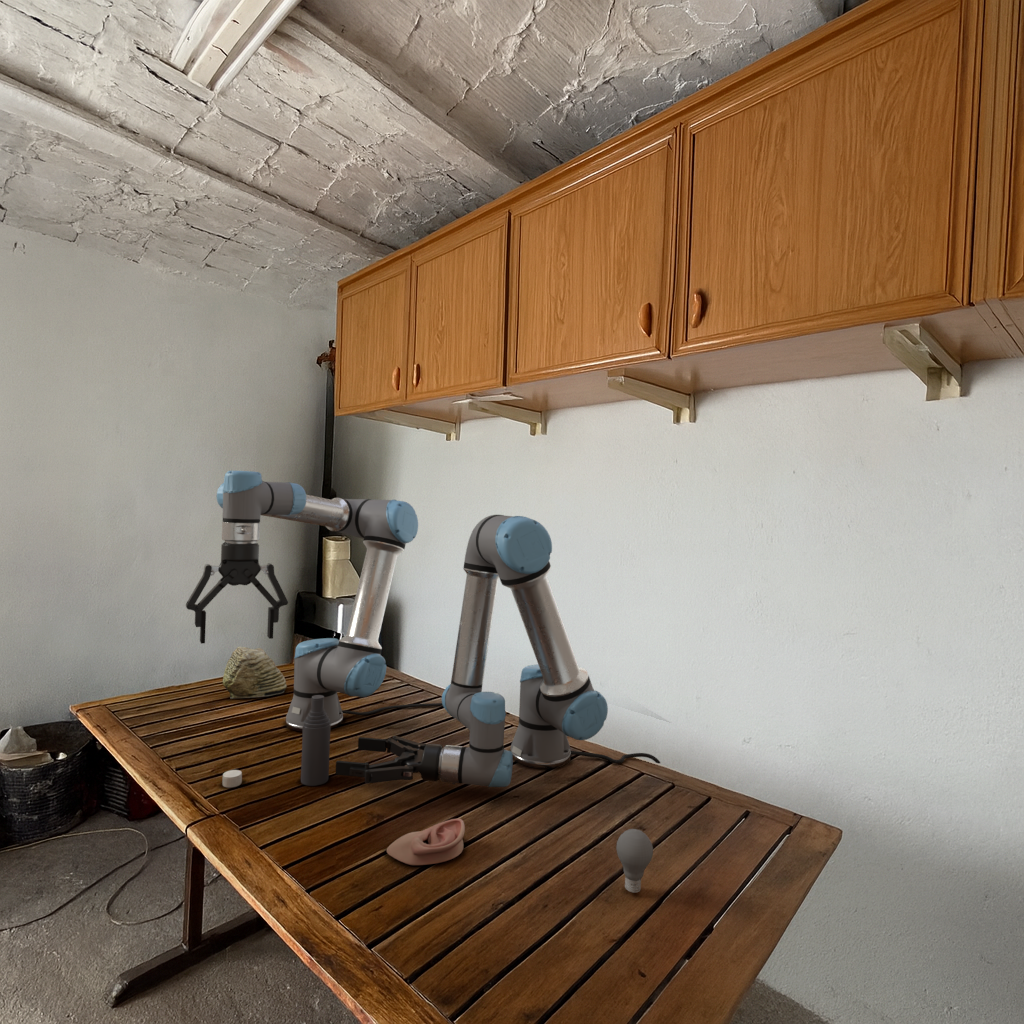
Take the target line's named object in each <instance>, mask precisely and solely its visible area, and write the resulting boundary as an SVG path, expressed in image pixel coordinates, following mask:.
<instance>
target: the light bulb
mask: <svg viewBox="0 0 1024 1024" xmlns="http://www.w3.org/2000/svg"><path fill="white" fill-rule="evenodd" d="M615 849H616V854H617V857H618V859H619V861H620V863H621V865H622V867H623V873H624V874H623V875H624V876H625V878H624V888H625V890H627V891H628V892H630V893H634V894H635V893H639V892H640V891H641V889H642V887H641V886H642V879H643V877H644V875H645V871H646V868H647V867H648V866H649V864H650V863H651V861H652V859H653V855H654V847H653V843H652V841H651V838H649V836H648V835H647V834H646V833H645V832H643V831H642V830H641V829H636V828H629V829H627V830H625V831H623V832H622V833H621V834H620V835H619V837H618V839H617V841H616V847H615Z"/></svg>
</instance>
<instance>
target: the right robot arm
mask: <svg viewBox="0 0 1024 1024" xmlns="http://www.w3.org/2000/svg"><path fill="white" fill-rule="evenodd" d="M552 552H553V543H552V537H551V536H550V533H549V531H548V530H547V529H546V527H545V526H544V525H543V524H542V523H541V522H540V521H537V520H535V519H533V518H530V517H527V516H523V515H514V516H512V515H504V514H492V515H488V516H485V517H484V518H482V519H481V520H480V521H479V522H477V524H476V525H475V526H474V528H473V529H472V531H471V533H470V536H469V538H468V542H467V546H466V549H465V554H464V562H463V567H462V568H463V571H464V573H466V578H465V585H464V590H463V597H462V605H461V610H460V611H461V612H460V618H459V624H458V631H457V639H456V646H455V652H454V660H453V665H452V671H451V672H452V673H451V679H450V683H449V684H448V685H447V686H446V687H445V689H444V690H443V692H442V694H441V703H442V704H443V706H442V707H443V708H444V710H445V711H446V712H447V713H448V714H449V716H450V717H452V718H453V719H455V720H457V721H458V722H459V723H460V724H462V725H463V726H464V727H465V728H466V729H467V730H468V731H469V740H468V741H469V743H468V746H461V745H450V744H445V746H443V745H442V744H435V743H422V742H417V741H414V740H411V739H408V738H404V737H401V736H398V735H393V736H391V737H392V738H391V737H390V738H387V739H386V738H375V737H374V738H373V737H365V736H364V737H363V736H359V737H358V738H357V751H367V752H377V753H378V752H379V753H386V754H390V753H391V754H393V755H394V756H397V757H395V758H394V759H393V760H388V761H382V762H378V763H374V764H369V762H357V761H346V760H336V761H335V775H336V776H345V777H355V778H364V784H366V785H367V784H376V783H386V782H387V783H388V782H395V781H412V780H414V774H417V773H418V774H420V777H421V779H422V781H425V782H426V781H427V782H436V783H438V782H439V781H441V782H442V783H451V785H454V786H455V785H456V784H461V785H462V784H463V785H471V786H481V787H488V788H506V787H508V786H509V785H510V784H511V782H512V776H513V767H514V765H513V764H514V762H516V763H517V764H519V765H522V766H524V767H529V768H533V769H556V768H560V767H564V766H566V765H567V764H568V763H569V762H570V761H571V760H572V759H571V758H572V757H571V755H573V756H581V757H587V758H596V759H602V760H606V761H608V762H610V763H612V764H622V763H625V760H626V759H632V758H647V759H651V760H652V761H653V762H654V763H655V764H661V761H660V760H659V759H658V758H657V757H655V756H654V755H653V754H650V753H646V752H636V753H626V754H623V755H622V756H621V758H620V759H619V758H618V759H616V758H612V757H610V756H608V755H605V754H602V753H601V754H600V753H594V752H587V751H586V752H585V751H577V750H571V746H570V742H569V739H568V737H569V738H572V739H574V740H576V741H586V740H589V739H591V738H593V737H595V736H596V735H597V734H598V733H599V732H600V731H601V730H602V728H603V727H604V724H605V722H606V721H607V717H608V710H609V707H608V701H607V700H606V698H605V697H604V695H603V694H602V693H601V692H600V691H598V690H596V689H594V687H593V684H592V682H591V678H590V675H589V673H588V671H587V670H586V668H584V667H581V666H579V664H578V661H577V658H576V655H575V652H574V650H573V647H572V643H571V641H570V638H569V635H568V632H567V629H566V627H565V624H564V621H563V618H562V615H561V612H560V609H559V607H558V603H557V600H556V598H555V595H554V592H553V589H552V587H551V583H550V580H549V578H548V574H549V573H550V571H551V569H552V565H551V562H550V559H551V553H552ZM499 580H500V583H501V585H502V586H503V587H506V588H508V589H510V590H511V593H512V596H513V599H514V602H515V605H516V607H517V611H518V612H519V615H520V618H521V621H522V624H523V627H524V629H525V632H526V634H527V637H528V641H529V643H530V646H531V648H532V651H533V654H534V656H535V657H534V658H535V660H536V664H530V665H527V666H524V667H523V668H522V669H521V673H520V680H519V684H520V686H519V708H518V709H519V710H518V711H519V712H518V726H517V728H516V730H515V733H514V736H513V739H512V741H511V744H510V749H509V750H507V749H505V744H504V742H505V741H504V740H505V729H506V727H505V726H506V717H507V713H506V700H505V697H504V696H503V695H502V694H500V693H499V692H495V691H483V684H484V677H485V670H486V665H487V664H486V663H487V658H488V651H489V644H490V638H491V630H492V624H493V617H494V610H495V604H496V597H497V590H498V586H499V585H498V584H499Z"/></svg>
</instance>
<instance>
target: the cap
mask: <svg viewBox="0 0 1024 1024" xmlns="http://www.w3.org/2000/svg"><path fill="white" fill-rule="evenodd" d="M221 783H222V784H221V785H222V787H224V788H227V789H228V788H236V787H239V786H240V785H241V784H242V783H243V772H242V771H241V770H239V769H231V770H227V771H225V772H224V773H222V782H221Z"/></svg>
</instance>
